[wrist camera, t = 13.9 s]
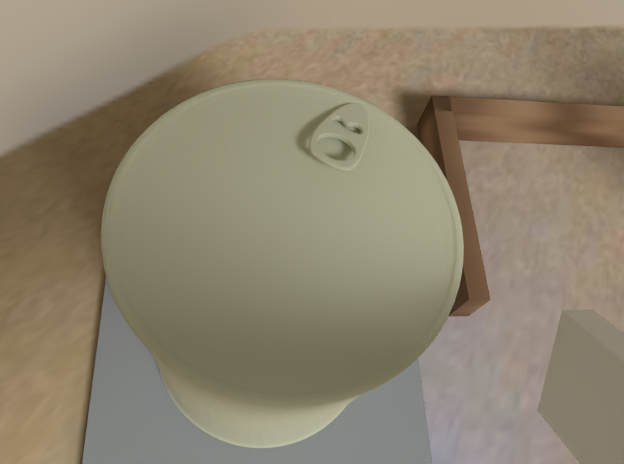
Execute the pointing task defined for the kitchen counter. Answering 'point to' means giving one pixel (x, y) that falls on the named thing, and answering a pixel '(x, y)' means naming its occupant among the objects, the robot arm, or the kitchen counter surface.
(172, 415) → the slate tile
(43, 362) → the kitchen counter surface
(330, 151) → the can
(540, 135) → the walnut stall
